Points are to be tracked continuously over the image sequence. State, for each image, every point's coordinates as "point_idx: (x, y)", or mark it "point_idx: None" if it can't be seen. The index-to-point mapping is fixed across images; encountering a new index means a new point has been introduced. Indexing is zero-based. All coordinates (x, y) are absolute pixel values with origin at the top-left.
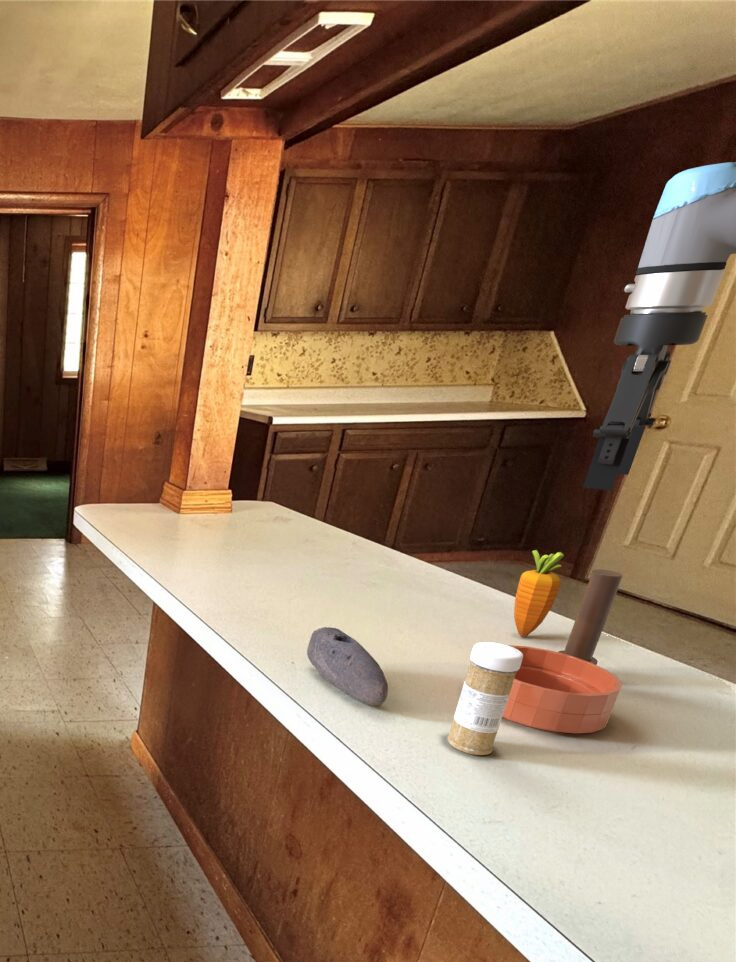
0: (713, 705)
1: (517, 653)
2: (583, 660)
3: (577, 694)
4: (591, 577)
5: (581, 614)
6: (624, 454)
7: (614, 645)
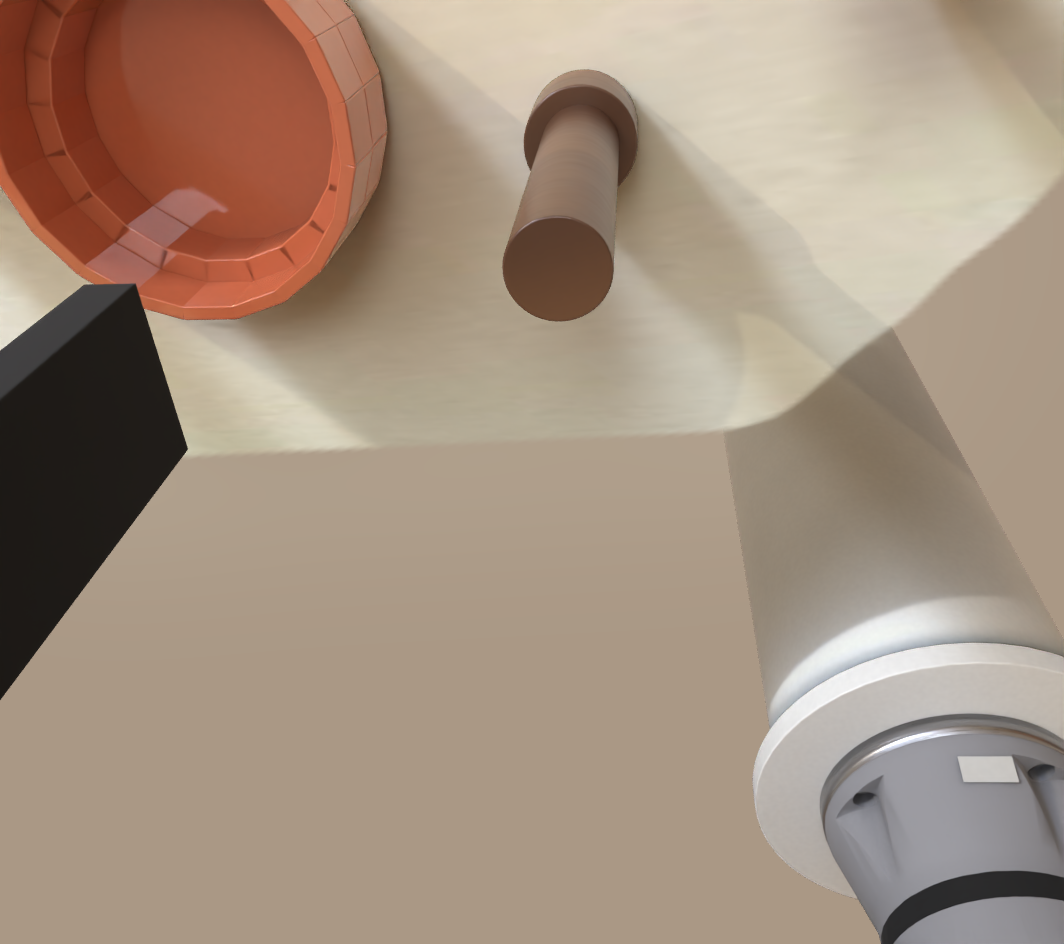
0: (644, 419)
1: None
2: (340, 209)
3: (51, 249)
4: (531, 211)
5: (534, 169)
6: (15, 660)
7: (1013, 173)
